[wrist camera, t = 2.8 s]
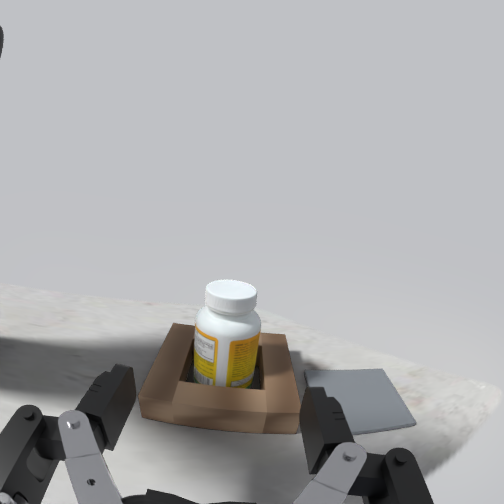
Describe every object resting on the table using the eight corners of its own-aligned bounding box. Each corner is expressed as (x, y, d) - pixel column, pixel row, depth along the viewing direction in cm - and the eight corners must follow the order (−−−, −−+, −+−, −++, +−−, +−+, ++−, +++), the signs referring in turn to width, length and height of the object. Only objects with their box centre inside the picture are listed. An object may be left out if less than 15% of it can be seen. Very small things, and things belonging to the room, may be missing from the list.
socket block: (141, 417, 19) (138, 395, 18) (173, 342, 30) (173, 323, 30) (295, 433, 19) (302, 413, 18) (281, 353, 31) (285, 334, 30)
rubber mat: (321, 437, 19) (322, 434, 18) (304, 372, 27) (304, 369, 27) (414, 425, 19) (416, 422, 19) (381, 371, 28) (382, 368, 28)
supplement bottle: (188, 397, 22) (188, 296, 20) (200, 363, 27) (204, 273, 25) (250, 406, 22) (265, 306, 20) (253, 370, 27) (265, 280, 25)
